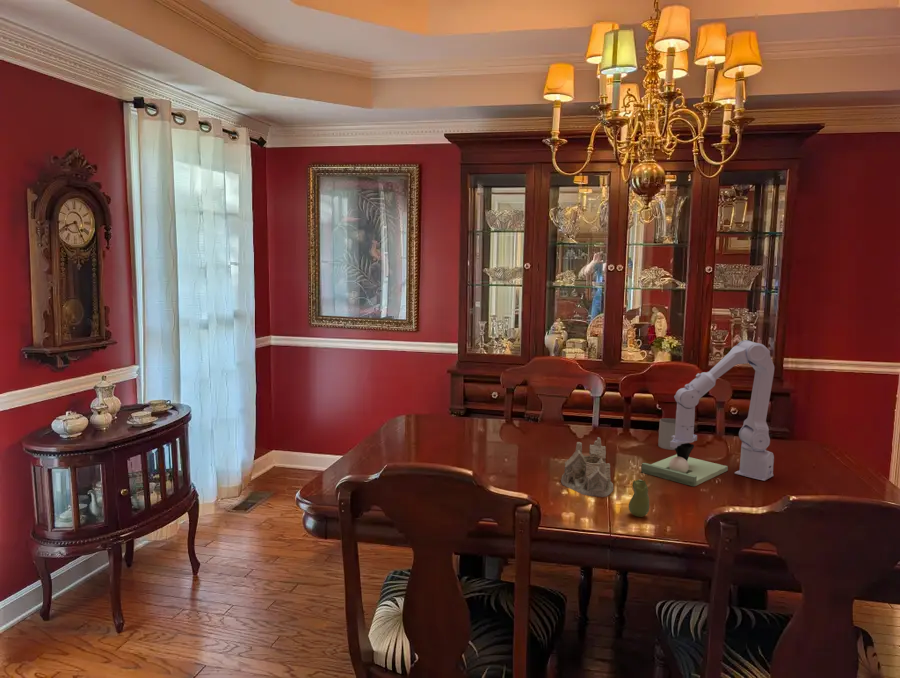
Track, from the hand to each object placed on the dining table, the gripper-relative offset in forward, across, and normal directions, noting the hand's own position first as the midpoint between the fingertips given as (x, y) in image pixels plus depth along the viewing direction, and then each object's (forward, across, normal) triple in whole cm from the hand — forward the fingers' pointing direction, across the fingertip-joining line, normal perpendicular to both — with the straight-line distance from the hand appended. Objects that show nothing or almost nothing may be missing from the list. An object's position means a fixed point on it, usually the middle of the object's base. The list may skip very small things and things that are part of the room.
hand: (682, 465), depth 206 cm
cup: (+3, -26, -18) cm, 32 cm away
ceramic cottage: (+3, +36, -13) cm, 38 cm away
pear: (+3, +44, +10) cm, 45 cm away
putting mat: (+2, -2, 0) cm, 3 cm away
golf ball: (-1, +3, 0) cm, 3 cm away
